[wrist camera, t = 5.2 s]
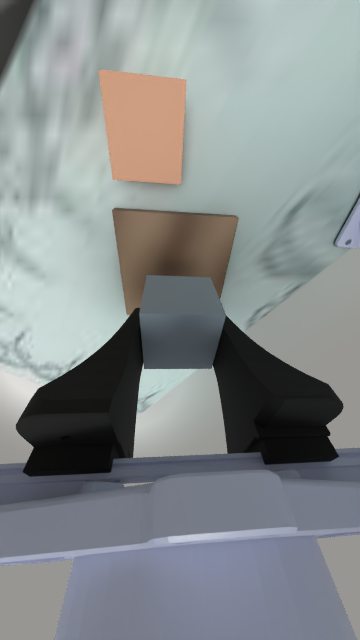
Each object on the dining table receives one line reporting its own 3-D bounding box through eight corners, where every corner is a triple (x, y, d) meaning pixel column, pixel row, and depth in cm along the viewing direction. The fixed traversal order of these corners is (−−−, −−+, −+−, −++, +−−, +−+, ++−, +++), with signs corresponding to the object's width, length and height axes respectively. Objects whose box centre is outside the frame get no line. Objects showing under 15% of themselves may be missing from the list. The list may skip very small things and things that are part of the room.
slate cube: (210, 277, 12) (226, 315, 9) (201, 325, 14) (211, 368, 11) (146, 275, 12) (139, 313, 8) (149, 324, 14) (144, 368, 11)
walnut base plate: (235, 215, 16) (238, 217, 15) (214, 310, 22) (216, 316, 21) (114, 208, 15) (112, 210, 14) (128, 309, 21) (126, 314, 20)
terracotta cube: (181, 103, 12) (186, 79, 9) (177, 181, 14) (180, 184, 11) (117, 97, 12) (98, 69, 8) (124, 178, 14) (112, 179, 11)
